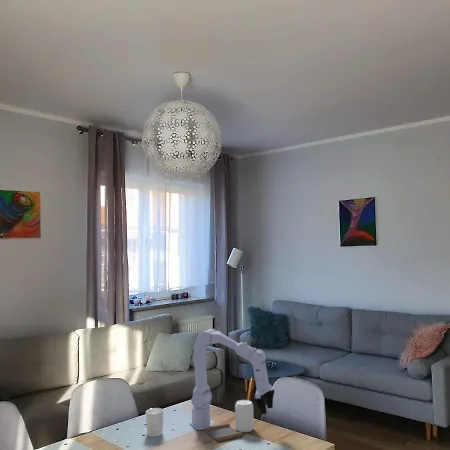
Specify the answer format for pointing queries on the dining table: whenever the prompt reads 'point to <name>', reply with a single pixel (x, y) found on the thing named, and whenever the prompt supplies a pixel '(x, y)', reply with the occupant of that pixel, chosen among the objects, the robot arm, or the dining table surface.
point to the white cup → (154, 422)
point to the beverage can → (244, 416)
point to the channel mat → (222, 432)
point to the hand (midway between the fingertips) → (267, 410)
